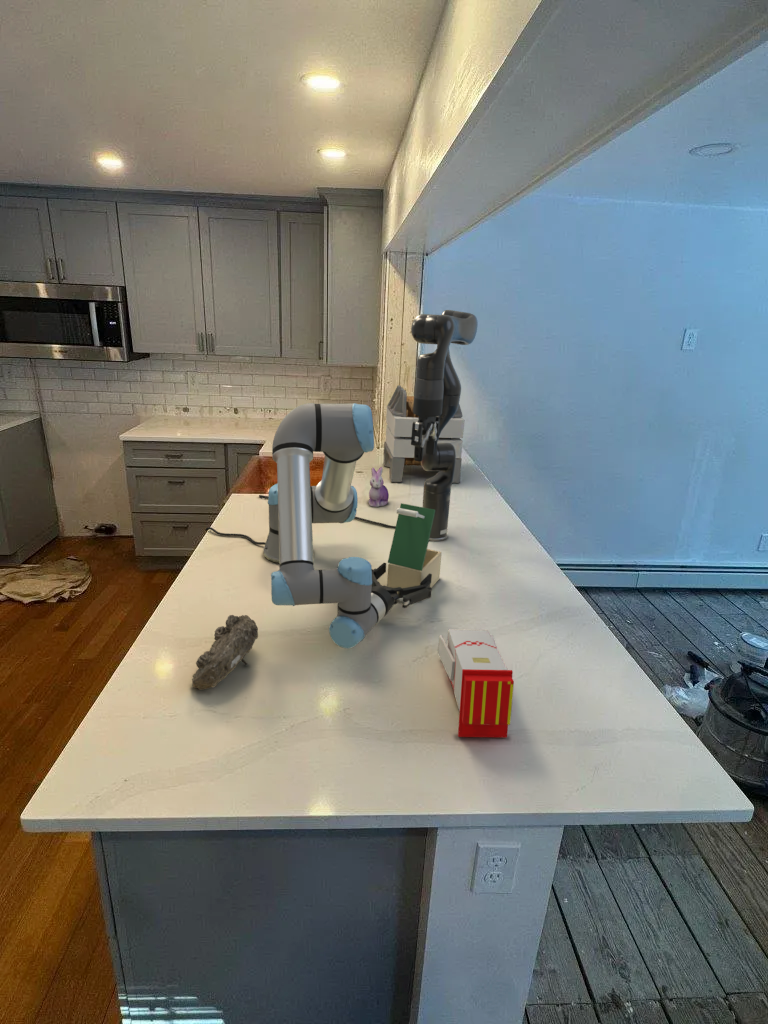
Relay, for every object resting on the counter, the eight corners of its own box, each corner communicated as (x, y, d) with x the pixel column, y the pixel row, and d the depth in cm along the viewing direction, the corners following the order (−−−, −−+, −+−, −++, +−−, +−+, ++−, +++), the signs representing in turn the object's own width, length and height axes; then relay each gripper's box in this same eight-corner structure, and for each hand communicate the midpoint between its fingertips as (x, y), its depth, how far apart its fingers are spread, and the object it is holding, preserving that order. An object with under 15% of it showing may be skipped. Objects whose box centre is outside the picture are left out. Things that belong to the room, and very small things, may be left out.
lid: (401, 503, 156) (391, 499, 149) (435, 510, 153) (426, 505, 145) (388, 562, 156) (377, 561, 148) (422, 570, 152) (412, 569, 144)
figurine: (373, 508, 223) (374, 472, 218) (362, 500, 232) (363, 465, 226) (394, 505, 227) (396, 469, 222) (382, 498, 236) (384, 463, 231)
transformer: (382, 463, 289) (386, 382, 275) (445, 464, 293) (451, 384, 279) (390, 482, 257) (394, 392, 243) (460, 483, 261) (468, 394, 247)
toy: (488, 613, 130) (523, 677, 101) (484, 667, 133) (517, 744, 104) (435, 612, 130) (455, 676, 101) (432, 666, 133) (451, 743, 103)
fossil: (211, 617, 133) (257, 588, 128) (239, 645, 136) (285, 617, 131) (171, 683, 114) (223, 651, 109) (205, 714, 117) (257, 684, 112)
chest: (408, 571, 172) (410, 544, 169) (439, 578, 168) (441, 551, 165) (386, 592, 158) (388, 564, 155) (419, 601, 154) (421, 572, 151)
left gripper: (328, 606, 144) (366, 574, 162) (419, 632, 134) (448, 595, 152) (328, 580, 141) (367, 550, 160) (421, 604, 132) (451, 570, 150)
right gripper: (432, 401, 139) (427, 465, 144) (451, 394, 151) (446, 454, 156) (404, 398, 141) (400, 461, 147) (425, 391, 154) (421, 450, 159)
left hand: (407, 572), depth 156 cm, fingers open, 13 cm apart
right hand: (424, 457), depth 152 cm, fingers open, 8 cm apart
